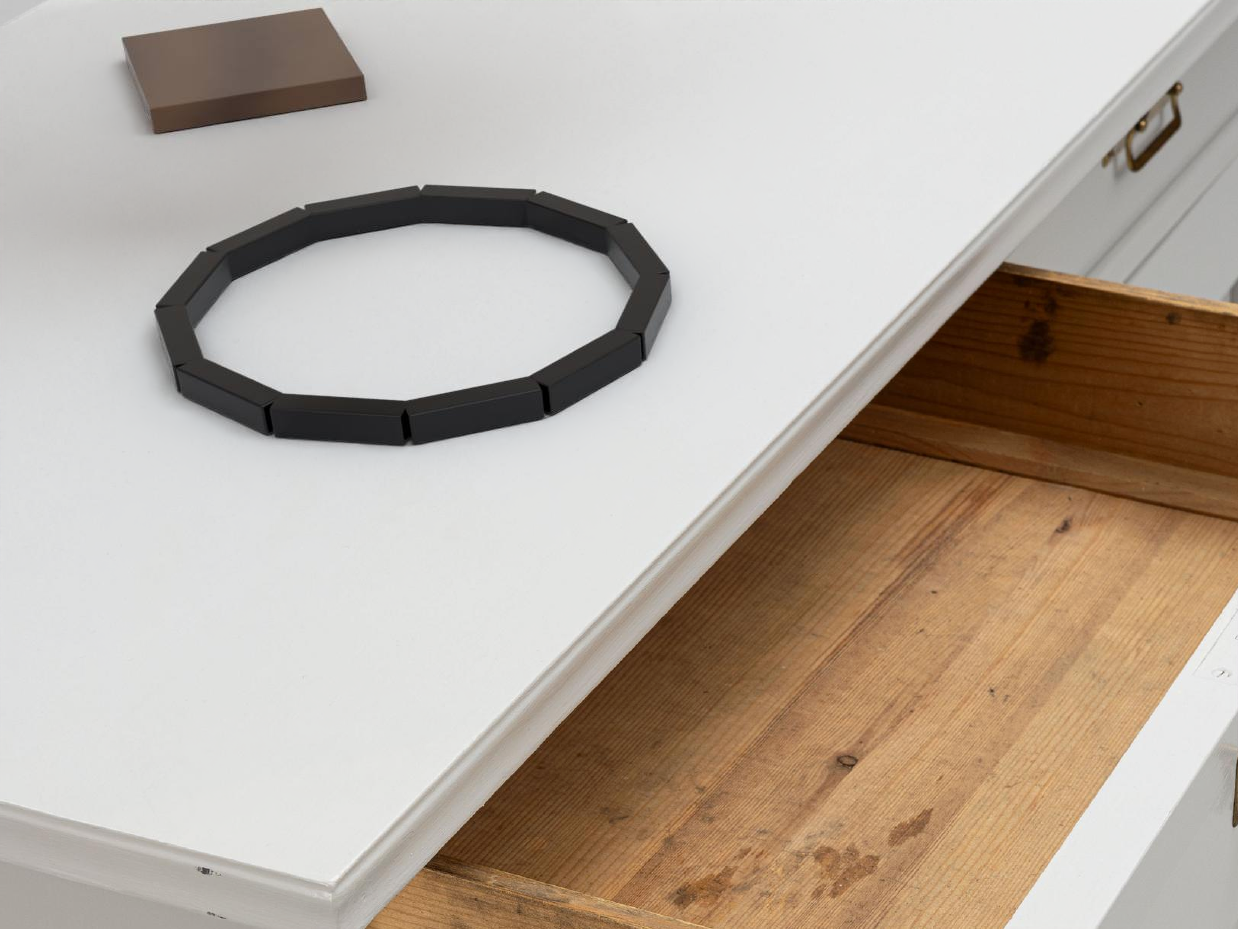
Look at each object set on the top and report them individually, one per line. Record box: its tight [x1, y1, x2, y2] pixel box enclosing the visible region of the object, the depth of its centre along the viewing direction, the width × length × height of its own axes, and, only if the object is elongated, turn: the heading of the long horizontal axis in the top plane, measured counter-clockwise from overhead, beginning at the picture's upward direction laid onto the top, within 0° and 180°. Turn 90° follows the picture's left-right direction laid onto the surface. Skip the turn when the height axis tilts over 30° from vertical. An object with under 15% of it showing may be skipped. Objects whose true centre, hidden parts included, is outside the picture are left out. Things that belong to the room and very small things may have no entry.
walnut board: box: [121, 7, 368, 134], centre depth 106 cm, size 10×10×1 cm
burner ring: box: [153, 184, 673, 446], centre depth 86 cm, size 19×19×1 cm
